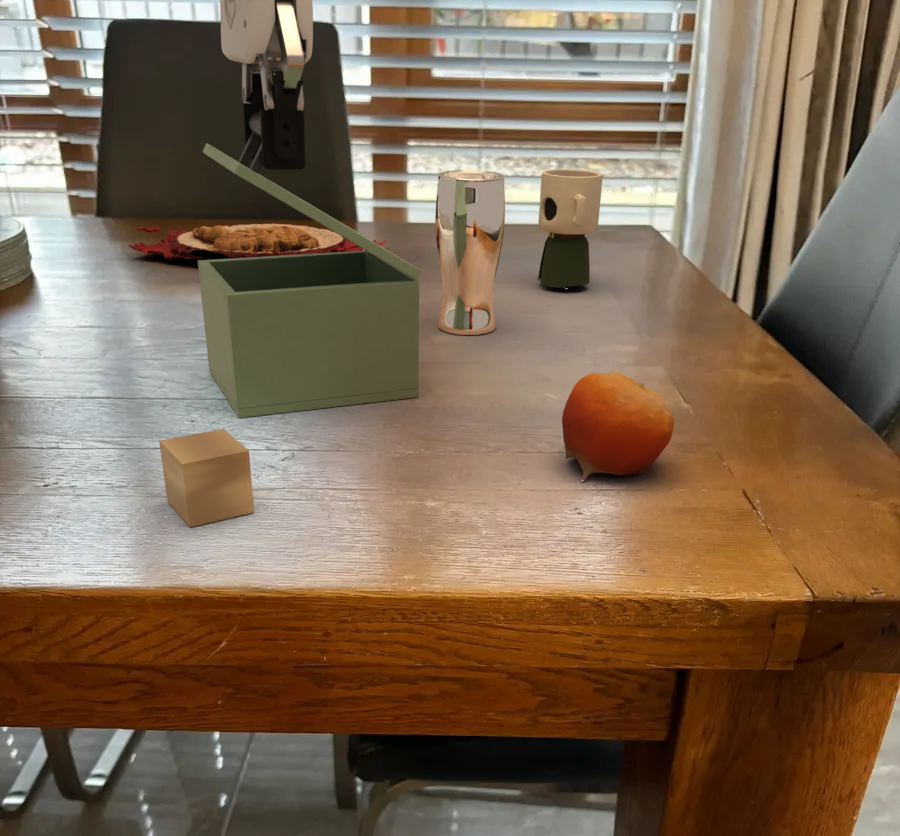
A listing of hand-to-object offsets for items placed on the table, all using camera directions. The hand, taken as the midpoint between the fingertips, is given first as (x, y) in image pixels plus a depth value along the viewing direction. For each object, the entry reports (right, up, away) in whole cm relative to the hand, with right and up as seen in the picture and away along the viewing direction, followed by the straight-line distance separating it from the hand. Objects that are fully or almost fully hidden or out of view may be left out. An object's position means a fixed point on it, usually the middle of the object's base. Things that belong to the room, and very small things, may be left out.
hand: (274, 161), depth 77 cm
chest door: (+2, -3, +3) cm, 5 cm away
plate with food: (-11, +12, +56) cm, 58 cm away
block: (-2, -28, -12) cm, 31 cm away
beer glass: (+16, -6, +27) cm, 32 cm away
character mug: (+28, +4, +44) cm, 52 cm away
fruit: (+26, -25, -4) cm, 36 cm away
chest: (+1, -15, +10) cm, 18 cm away
